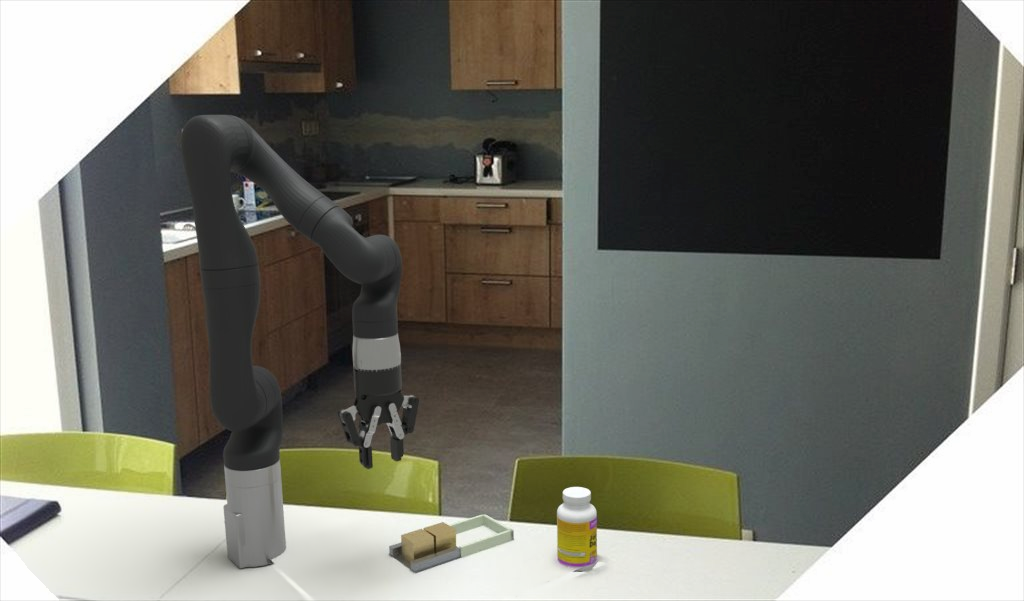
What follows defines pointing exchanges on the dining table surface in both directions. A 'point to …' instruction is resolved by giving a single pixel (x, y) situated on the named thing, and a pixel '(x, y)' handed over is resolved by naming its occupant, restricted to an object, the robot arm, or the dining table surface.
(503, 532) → the tray
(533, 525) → the dining table surface
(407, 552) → the brass block
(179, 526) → the dining table surface
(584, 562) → the supplement bottle
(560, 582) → the dining table surface
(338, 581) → the dining table surface
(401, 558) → the slot rail
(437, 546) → the brass block
